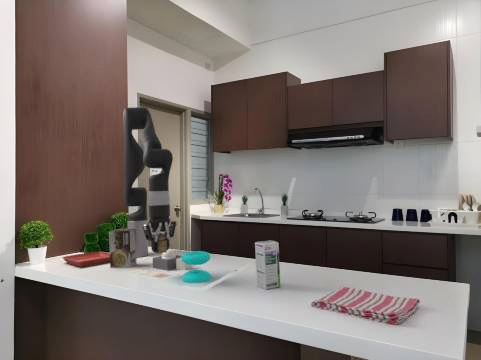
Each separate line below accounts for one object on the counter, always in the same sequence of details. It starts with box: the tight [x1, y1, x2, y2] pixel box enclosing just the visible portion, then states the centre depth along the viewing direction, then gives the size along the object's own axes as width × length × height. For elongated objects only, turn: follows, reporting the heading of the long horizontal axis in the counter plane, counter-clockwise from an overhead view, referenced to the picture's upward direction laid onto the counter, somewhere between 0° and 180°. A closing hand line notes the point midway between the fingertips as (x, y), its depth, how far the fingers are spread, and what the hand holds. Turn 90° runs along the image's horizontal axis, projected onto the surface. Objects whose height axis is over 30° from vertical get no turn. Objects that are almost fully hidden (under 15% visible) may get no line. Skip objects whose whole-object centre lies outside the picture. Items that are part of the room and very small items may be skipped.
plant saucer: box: [61, 251, 110, 268], centre depth 167 cm, size 18×18×3 cm
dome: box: [161, 248, 177, 259], centre depth 148 cm, size 6×6×6 cm
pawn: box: [154, 232, 167, 254], centre depth 134 cm, size 4×4×7 cm
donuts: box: [181, 250, 212, 284], centre depth 128 cm, size 10×10×10 cm
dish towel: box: [310, 286, 421, 326], centre depth 98 cm, size 17×23×4 cm
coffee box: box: [108, 228, 138, 269], centre depth 152 cm, size 9×6×16 cm
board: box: [129, 254, 182, 279], centre depth 143 cm, size 20×22×5 cm
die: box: [175, 258, 192, 271], centre depth 144 cm, size 4×4×4 cm
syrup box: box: [254, 240, 281, 290], centre depth 120 cm, size 6×6×14 cm
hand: (160, 250), depth 134 cm, fingers closed on pawn, 4 cm apart
